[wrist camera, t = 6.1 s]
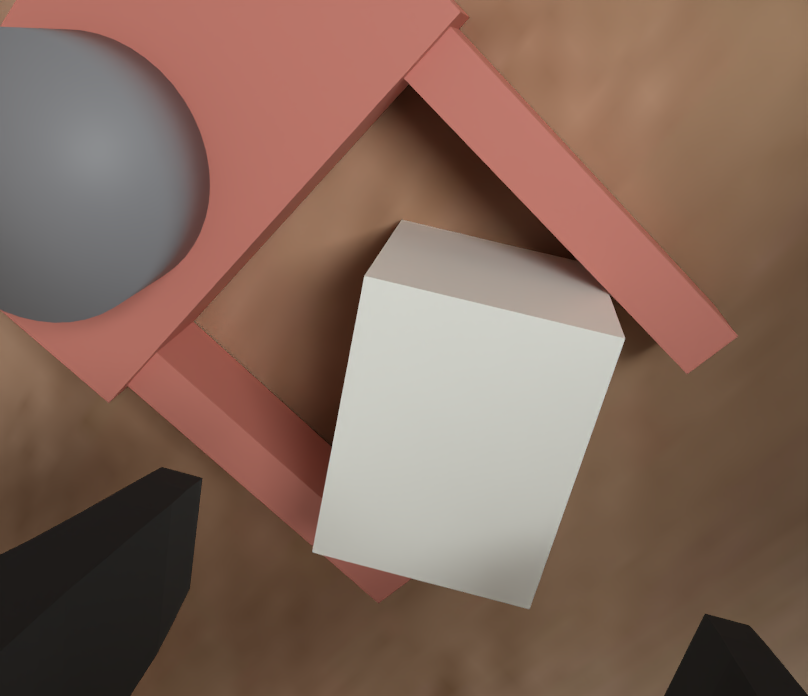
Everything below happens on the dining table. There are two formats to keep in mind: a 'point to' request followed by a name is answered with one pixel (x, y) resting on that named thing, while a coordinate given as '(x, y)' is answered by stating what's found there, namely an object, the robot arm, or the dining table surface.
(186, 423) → the pink u-shaped block
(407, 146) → the dining table surface
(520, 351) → the white rectangular block
